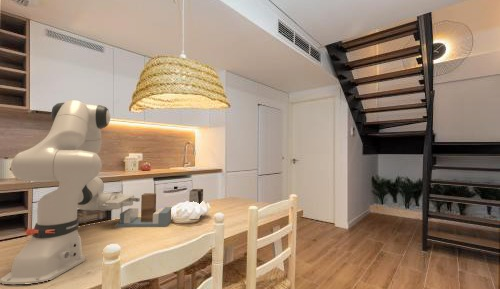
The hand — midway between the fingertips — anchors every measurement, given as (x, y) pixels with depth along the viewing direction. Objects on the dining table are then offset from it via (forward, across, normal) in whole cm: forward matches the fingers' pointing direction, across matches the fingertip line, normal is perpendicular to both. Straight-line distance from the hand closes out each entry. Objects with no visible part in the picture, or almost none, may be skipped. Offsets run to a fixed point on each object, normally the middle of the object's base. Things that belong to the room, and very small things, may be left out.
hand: (136, 201), depth 132 cm
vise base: (+5, 0, +12) cm, 13 cm away
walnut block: (+7, 0, +10) cm, 12 cm away
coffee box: (+30, +11, +12) cm, 34 cm away
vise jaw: (-3, 0, +10) cm, 10 cm away
